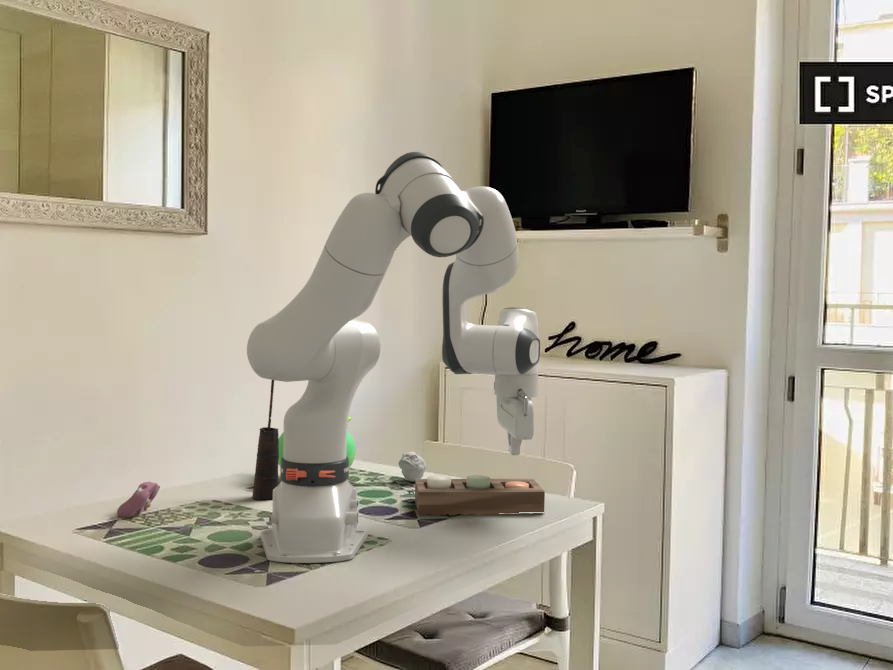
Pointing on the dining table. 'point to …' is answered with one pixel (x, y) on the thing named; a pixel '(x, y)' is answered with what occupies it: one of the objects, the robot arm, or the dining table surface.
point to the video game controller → (139, 499)
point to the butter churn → (267, 459)
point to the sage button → (478, 482)
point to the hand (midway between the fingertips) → (514, 454)
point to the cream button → (439, 482)
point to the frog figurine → (412, 466)
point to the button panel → (479, 498)
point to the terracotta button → (516, 484)
